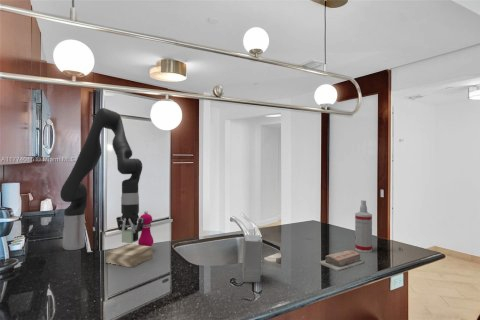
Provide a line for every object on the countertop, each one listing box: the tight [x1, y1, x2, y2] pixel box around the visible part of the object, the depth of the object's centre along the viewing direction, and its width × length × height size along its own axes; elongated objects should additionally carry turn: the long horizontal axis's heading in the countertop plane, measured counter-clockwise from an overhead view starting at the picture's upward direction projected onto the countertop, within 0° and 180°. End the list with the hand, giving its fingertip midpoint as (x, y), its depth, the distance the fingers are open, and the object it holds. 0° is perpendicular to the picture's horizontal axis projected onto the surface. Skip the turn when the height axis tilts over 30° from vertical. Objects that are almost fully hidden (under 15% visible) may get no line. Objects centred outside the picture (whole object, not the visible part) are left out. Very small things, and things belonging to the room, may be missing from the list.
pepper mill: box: [137, 210, 154, 247], centre depth 149 cm, size 7×7×20 cm
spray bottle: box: [354, 200, 373, 253], centre depth 151 cm, size 8×8×25 cm
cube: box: [121, 228, 139, 244], centre depth 135 cm, size 5×5×5 cm
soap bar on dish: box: [319, 249, 365, 272], centre depth 131 cm, size 18×5×10 cm
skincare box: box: [241, 234, 263, 283], centre depth 114 cm, size 8×7×16 cm
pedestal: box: [105, 243, 154, 268], centre depth 135 cm, size 14×14×5 cm
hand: (130, 240), depth 135 cm, fingers closed on cube, 5 cm apart
